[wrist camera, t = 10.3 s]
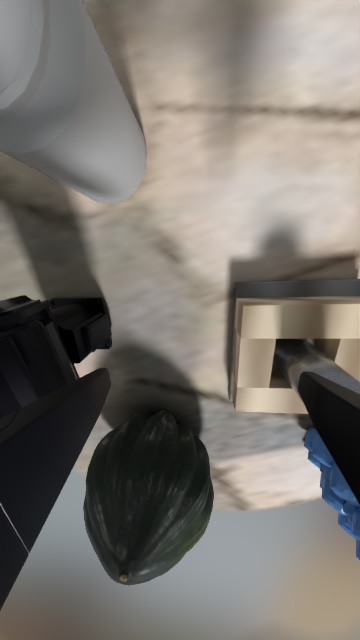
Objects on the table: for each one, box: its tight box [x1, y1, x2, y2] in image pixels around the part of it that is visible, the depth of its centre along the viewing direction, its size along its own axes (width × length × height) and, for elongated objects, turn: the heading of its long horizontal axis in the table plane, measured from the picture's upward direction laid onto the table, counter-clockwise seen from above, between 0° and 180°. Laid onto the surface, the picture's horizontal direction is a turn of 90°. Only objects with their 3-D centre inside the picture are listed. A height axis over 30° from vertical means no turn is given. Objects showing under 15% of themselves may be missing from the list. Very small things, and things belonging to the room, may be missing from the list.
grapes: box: [304, 428, 360, 560], centre depth 20 cm, size 12×7×12 cm, turn 24°
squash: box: [83, 410, 214, 585], centre depth 22 cm, size 14×15×15 cm
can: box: [0, 0, 147, 204], centre depth 11 cm, size 8×8×12 cm
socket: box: [229, 279, 360, 414], centre depth 20 cm, size 12×15×4 cm
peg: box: [273, 339, 360, 402], centre depth 16 cm, size 4×4×10 cm
